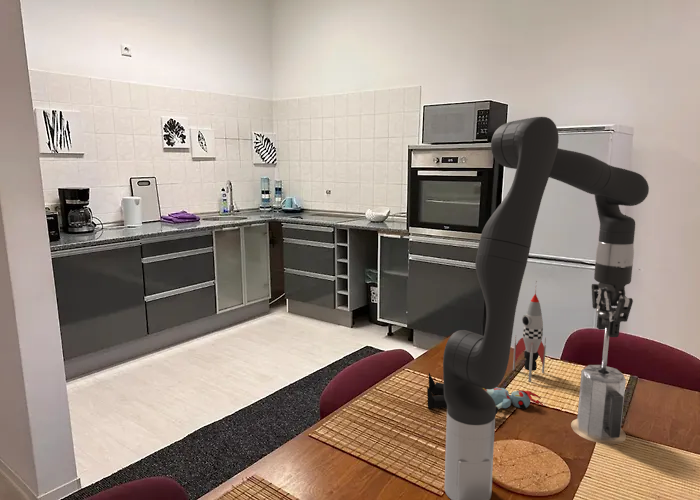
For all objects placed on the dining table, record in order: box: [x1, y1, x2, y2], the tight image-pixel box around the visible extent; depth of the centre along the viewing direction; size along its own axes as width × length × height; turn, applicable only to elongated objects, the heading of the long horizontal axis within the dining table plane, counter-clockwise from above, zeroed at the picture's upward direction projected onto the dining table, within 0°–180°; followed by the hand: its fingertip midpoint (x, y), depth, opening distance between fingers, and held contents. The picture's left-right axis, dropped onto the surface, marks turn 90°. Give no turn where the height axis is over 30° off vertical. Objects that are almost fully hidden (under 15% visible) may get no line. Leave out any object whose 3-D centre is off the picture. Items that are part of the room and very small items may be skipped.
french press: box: [576, 364, 627, 441], centre depth 117 cm, size 12×10×15 cm
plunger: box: [594, 310, 616, 380], centre depth 116 cm, size 6×6×18 cm
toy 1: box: [426, 372, 544, 415], centre depth 134 cm, size 26×8×30 cm
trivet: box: [570, 418, 627, 445], centre depth 120 cm, size 12×12×1 cm
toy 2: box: [512, 280, 547, 382], centre depth 149 cm, size 9×8×30 cm
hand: (607, 332), depth 115 cm, fingers closed on plunger, 4 cm apart
